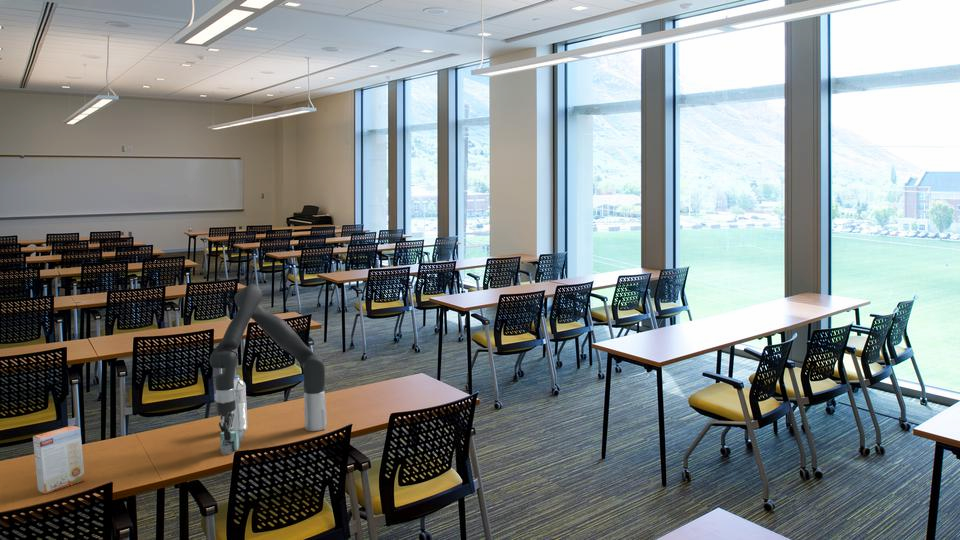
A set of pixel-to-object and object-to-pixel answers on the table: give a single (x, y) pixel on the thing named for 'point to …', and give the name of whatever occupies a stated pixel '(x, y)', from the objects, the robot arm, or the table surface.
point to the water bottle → (240, 405)
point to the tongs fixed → (231, 444)
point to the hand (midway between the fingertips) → (227, 439)
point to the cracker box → (58, 458)
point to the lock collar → (233, 437)
